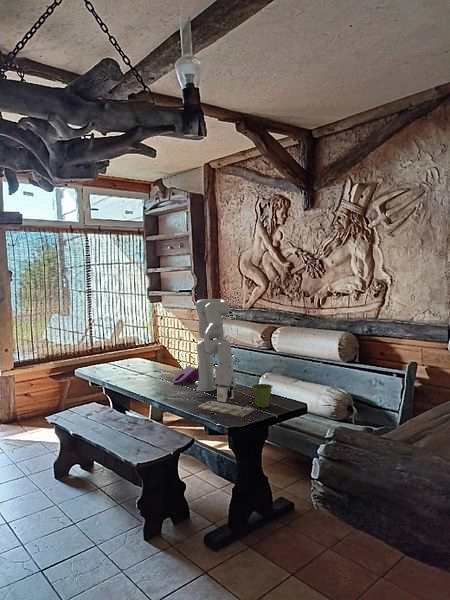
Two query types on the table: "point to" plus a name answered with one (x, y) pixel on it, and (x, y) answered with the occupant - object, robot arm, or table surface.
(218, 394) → the box
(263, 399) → the plant pot
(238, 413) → the rail board
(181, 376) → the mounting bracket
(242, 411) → the rail
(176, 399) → the table surface
